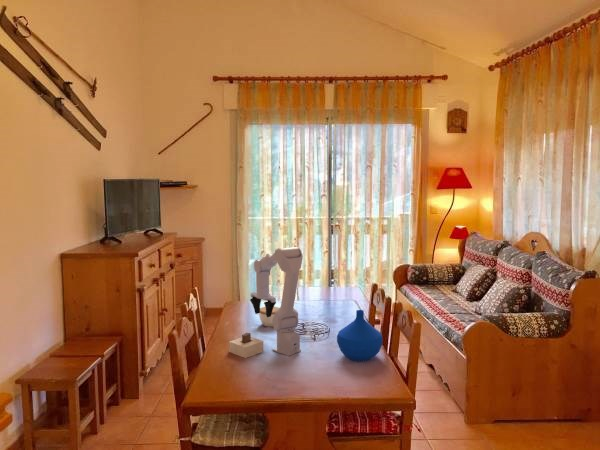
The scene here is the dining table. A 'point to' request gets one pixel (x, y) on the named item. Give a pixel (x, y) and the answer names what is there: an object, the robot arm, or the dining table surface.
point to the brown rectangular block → (246, 338)
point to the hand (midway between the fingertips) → (263, 315)
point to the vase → (359, 339)
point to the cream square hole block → (246, 347)
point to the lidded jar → (264, 319)
